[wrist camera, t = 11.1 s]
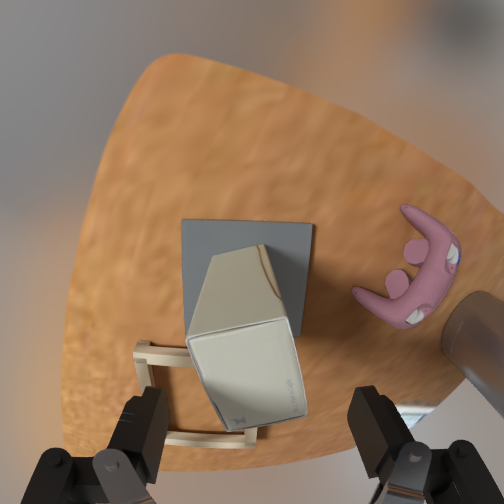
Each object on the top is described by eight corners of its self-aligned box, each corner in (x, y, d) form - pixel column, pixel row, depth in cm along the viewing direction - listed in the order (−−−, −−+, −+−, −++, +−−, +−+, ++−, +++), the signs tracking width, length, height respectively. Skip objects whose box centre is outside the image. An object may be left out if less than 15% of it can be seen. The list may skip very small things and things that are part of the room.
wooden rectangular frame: (261, 345, 26) (263, 358, 24) (254, 435, 30) (255, 448, 28) (138, 340, 25) (132, 352, 23) (157, 430, 29) (154, 442, 27)
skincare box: (280, 311, 24) (313, 418, 13) (228, 323, 24) (226, 436, 13) (263, 239, 23) (293, 314, 11) (207, 253, 23) (181, 339, 11)
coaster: (310, 222, 23) (312, 224, 23) (298, 333, 26) (299, 336, 25) (182, 218, 22) (181, 220, 22) (186, 331, 25) (185, 335, 25)
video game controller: (366, 302, 27) (417, 344, 22) (343, 293, 24) (400, 343, 19) (418, 215, 25) (476, 247, 20) (401, 195, 22) (469, 228, 17)
